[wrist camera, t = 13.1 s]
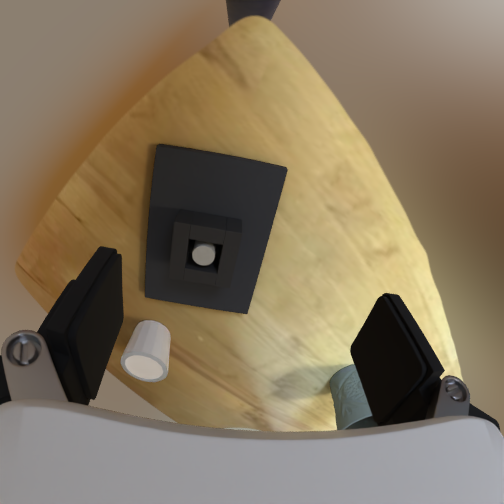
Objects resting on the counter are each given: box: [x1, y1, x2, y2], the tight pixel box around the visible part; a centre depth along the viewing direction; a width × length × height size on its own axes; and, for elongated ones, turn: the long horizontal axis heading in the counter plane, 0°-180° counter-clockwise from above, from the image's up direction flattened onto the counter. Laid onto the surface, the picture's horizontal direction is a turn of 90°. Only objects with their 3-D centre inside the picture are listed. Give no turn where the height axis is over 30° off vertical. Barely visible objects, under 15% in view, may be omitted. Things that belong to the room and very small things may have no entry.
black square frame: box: [169, 209, 243, 288], centre depth 33 cm, size 7×7×4 cm
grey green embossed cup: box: [330, 364, 378, 430], centre depth 46 cm, size 10×10×12 cm
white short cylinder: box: [121, 320, 171, 382], centre depth 40 cm, size 7×7×7 cm
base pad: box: [145, 144, 287, 314], centre depth 34 cm, size 20×14×5 cm
